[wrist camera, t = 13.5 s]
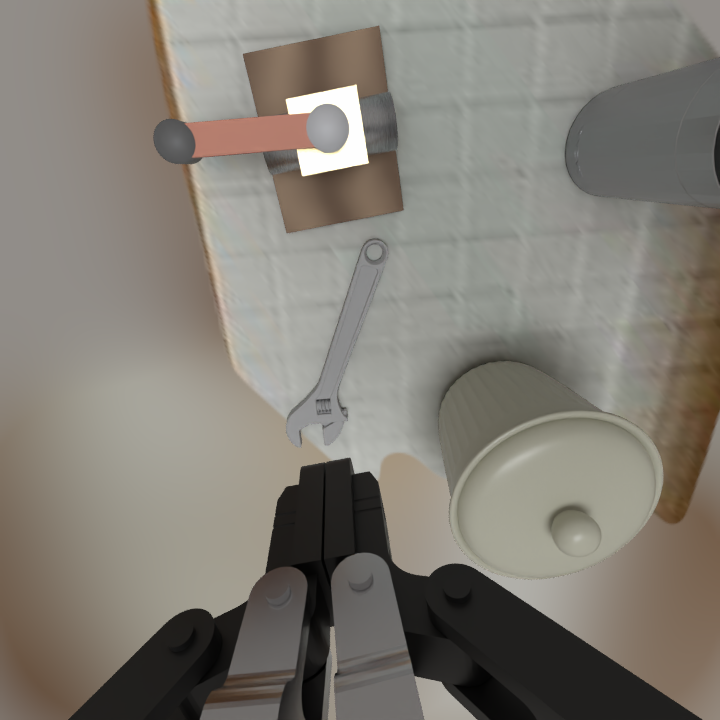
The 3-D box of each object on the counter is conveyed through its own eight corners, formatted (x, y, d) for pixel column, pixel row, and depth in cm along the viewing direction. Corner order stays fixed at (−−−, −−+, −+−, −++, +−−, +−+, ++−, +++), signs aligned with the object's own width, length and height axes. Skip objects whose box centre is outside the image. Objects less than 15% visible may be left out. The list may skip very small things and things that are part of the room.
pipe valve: (382, 92, 36) (394, 73, 28) (390, 158, 38) (404, 155, 30) (264, 116, 36) (247, 103, 29) (279, 180, 38) (267, 183, 31)
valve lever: (162, 122, 30) (147, 118, 27) (346, 107, 30) (347, 101, 27) (173, 167, 31) (159, 167, 28) (349, 151, 31) (351, 150, 28)
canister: (543, 469, 56) (655, 629, 36) (405, 464, 54) (446, 629, 35) (585, 339, 48) (752, 452, 29) (427, 329, 47) (493, 442, 27)
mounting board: (376, 32, 36) (379, 25, 34) (400, 208, 41) (403, 210, 40) (247, 59, 36) (242, 54, 34) (288, 230, 42) (286, 233, 40)
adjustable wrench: (365, 233, 43) (366, 235, 41) (422, 258, 44) (426, 261, 42) (281, 431, 51) (279, 440, 50) (330, 448, 53) (331, 456, 51)
